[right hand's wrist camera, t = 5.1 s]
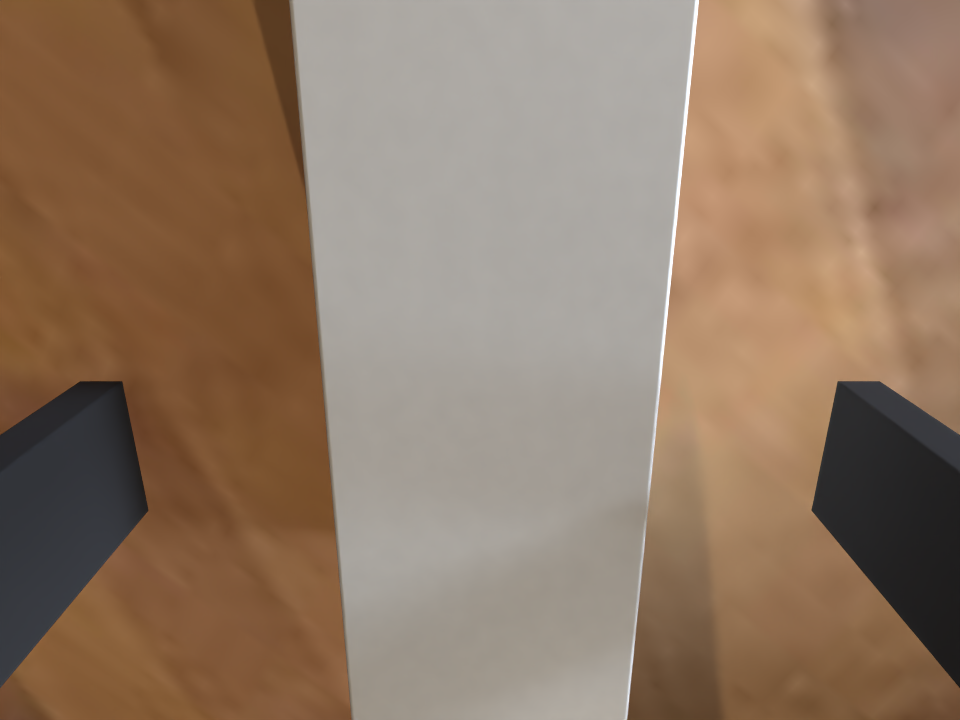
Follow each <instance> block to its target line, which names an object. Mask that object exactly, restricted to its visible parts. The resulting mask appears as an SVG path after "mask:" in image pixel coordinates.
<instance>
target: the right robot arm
mask: <svg viewBox="0 0 960 720" xmlns="http://www.w3.org/2000/svg"><path fill="white" fill-rule="evenodd" d="M147 512H148V506H147V501H146V496H145V491H144V486H143V481H142V476H141V471H140V467H139V462H138V457H137V452H136V447H135V442H134V437H133V432H132V427H131V422H130V418H129V413H128V408H127V403H126V398H125V393H124V388H123V383H122V381H80V382H79V383H77V384H76V385H74V386H73V387H71V388H70V389H68V390H67V391H65V392H64V393H62V394H61V395H59V396H58V397H56V398H55V399H53V400H52V401H50V402H49V403H47V404H46V405H44V406H43V407H41V408H40V409H39V410H37V411H36V412H34V413H33V414H31V415H30V416H28V417H27V418H25V419H24V420H22V421H21V422H19V423H18V424H16V425H15V426H13V427H12V428H10V429H9V430H7V431H6V432H4V433H3V434H1V435H0V688H1V686H2V685H3V684H4V683H5V682H6V680H7V679H8V678H9V677H10V676H11V674H12V673H13V672H14V671H15V670H16V668H17V667H18V666H19V665H20V664H21V662H22V661H23V660H24V659H25V658H26V656H27V655H28V654H29V653H30V652H31V650H32V649H33V648H34V647H35V646H36V644H37V643H38V642H39V641H40V640H41V638H42V637H43V636H44V635H45V634H46V632H47V631H48V630H49V629H50V628H51V626H52V625H53V624H54V623H55V622H56V620H57V619H58V618H59V617H60V616H61V614H62V613H63V612H64V611H65V610H66V608H67V607H68V606H69V605H70V604H71V603H72V601H73V600H74V599H75V598H76V597H77V595H78V594H79V593H80V592H81V591H82V589H83V588H84V587H85V586H86V585H87V583H88V582H89V581H90V580H91V579H92V577H93V576H94V575H95V574H96V573H97V571H98V570H99V569H100V568H101V567H102V565H103V564H104V563H105V562H106V561H107V559H108V558H109V557H110V556H111V555H112V553H113V552H114V551H115V550H116V549H117V547H118V546H119V545H120V544H121V543H122V541H123V540H124V539H125V538H126V537H127V535H128V534H129V533H130V532H131V531H132V529H133V528H134V527H135V526H136V525H137V523H138V522H139V521H140V520H141V519H142V517H143V516H144V515H145V514H146V513H147ZM812 512H813V513H814V514H815V515H816V516H817V517H818V519H819V520H820V521H821V522H822V523H823V525H824V526H825V527H826V528H827V529H828V531H829V532H830V533H831V534H832V535H833V537H834V538H835V539H836V540H837V541H838V543H839V544H840V545H841V546H842V547H843V549H844V550H845V551H846V552H847V553H848V555H849V556H850V557H851V558H852V559H853V561H854V562H855V563H856V564H857V565H858V567H859V568H860V569H861V570H862V571H863V573H864V574H865V575H866V576H867V577H868V579H869V580H870V581H871V582H872V583H873V585H874V586H875V587H876V588H877V589H878V591H879V592H880V593H881V594H882V595H883V597H884V598H885V599H886V600H887V601H888V603H889V604H890V605H891V606H892V607H893V608H894V610H895V611H896V612H897V613H898V614H899V616H900V617H901V618H902V619H903V620H904V622H905V623H906V624H907V625H908V626H909V628H910V629H911V630H912V631H913V632H914V634H915V635H916V636H917V637H918V638H919V640H920V641H921V642H922V643H923V644H924V646H925V647H926V648H927V649H928V650H929V652H930V653H931V654H932V655H933V656H934V658H935V659H936V660H937V661H938V662H939V664H940V665H941V666H942V667H943V668H944V670H945V671H946V672H947V673H948V674H949V676H950V677H951V678H952V679H953V680H954V682H955V683H956V684H957V685H958V686H959V688H960V435H959V434H957V433H956V432H954V431H953V430H951V429H950V428H948V427H947V426H945V425H944V424H942V423H941V422H939V421H938V420H936V419H935V418H933V417H932V416H930V415H929V414H927V413H926V412H924V411H923V410H921V409H920V408H919V407H917V406H916V405H914V404H913V403H911V402H910V401H908V400H907V399H905V398H904V397H902V396H901V395H899V394H898V393H896V392H895V391H893V390H892V389H890V388H889V387H887V386H886V385H884V384H883V383H881V382H880V381H838V383H837V388H836V393H835V398H834V403H833V408H832V413H831V418H830V422H829V427H828V432H827V437H826V442H825V447H824V452H823V457H822V462H821V467H820V471H819V476H818V481H817V486H816V491H815V496H814V501H813V506H812Z"/></svg>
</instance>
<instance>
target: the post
mask: <svg viewBox="0 0 960 720" xmlns="http://www.w3.org/2000/svg"><path fill="white" fill-rule="evenodd" d="M698 2H699V0H289V5H290V16H291V28H292V39H293V51H294V62H295V74H296V85H297V97H298V108H299V120H300V131H301V143H302V154H303V166H304V178H305V189H306V201H307V212H308V224H309V235H310V247H311V258H312V270H313V281H314V293H315V304H316V316H317V327H318V339H319V350H320V362H321V373H322V385H323V396H324V408H325V419H326V431H327V442H328V454H329V465H330V477H331V488H332V500H333V511H334V523H335V534H336V546H337V557H338V569H339V580H340V592H341V603H342V615H343V626H344V638H345V650H346V661H347V673H348V684H349V696H350V707H351V719H352V720H627V715H628V704H629V694H630V684H631V674H632V664H633V654H634V644H635V634H636V624H637V614H638V604H639V594H640V584H641V574H642V564H643V554H644V544H645V534H646V524H647V514H648V504H649V494H650V484H651V474H652V463H653V453H654V443H655V433H656V423H657V413H658V403H659V393H660V383H661V373H662V363H663V353H664V343H665V333H666V323H667V313H668V303H669V293H670V283H671V273H672V263H673V253H674V243H675V232H676V222H677V212H678V202H679V192H680V182H681V172H682V162H683V152H684V142H685V132H686V122H687V112H688V102H689V92H690V82H691V72H692V62H693V52H694V42H695V32H696V22H697V12H698Z"/></svg>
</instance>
